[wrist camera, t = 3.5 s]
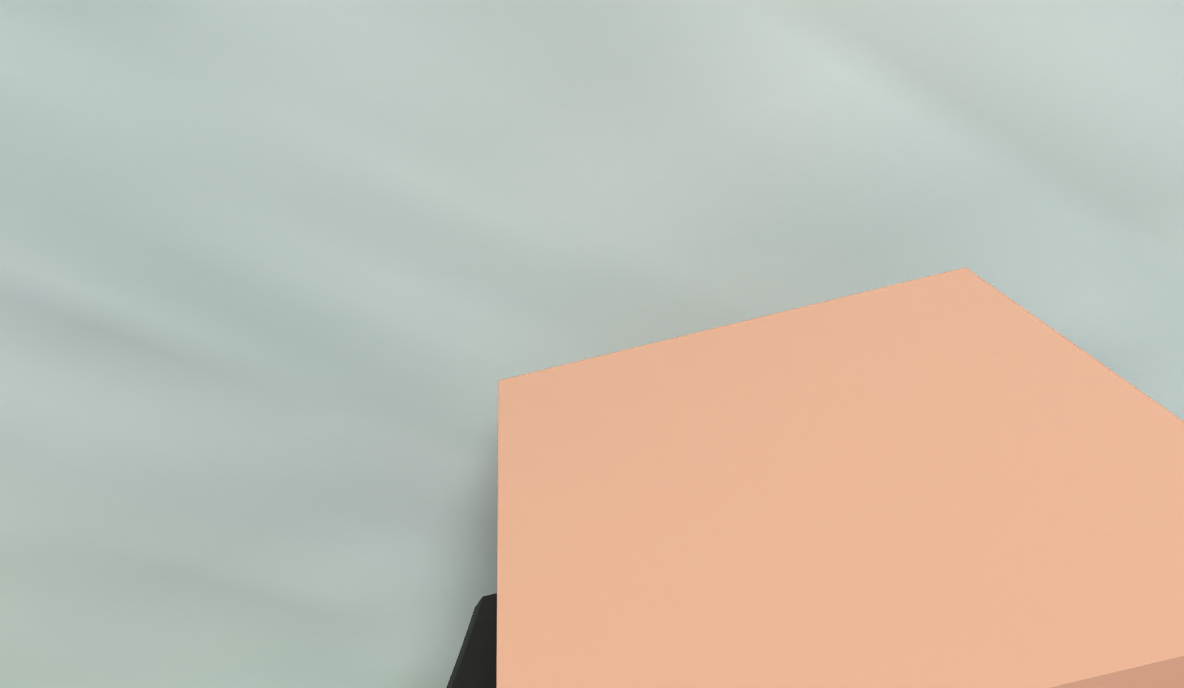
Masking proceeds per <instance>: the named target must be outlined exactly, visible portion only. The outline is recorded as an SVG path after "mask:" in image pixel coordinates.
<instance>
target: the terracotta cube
mask: <svg viewBox="0 0 1184 688" xmlns="http://www.w3.org/2000/svg"><path fill="white" fill-rule="evenodd" d="M497 688H1184V421H1182V420H1181V419H1179V418H1178V417H1177V416H1175V415H1174V414H1172V413H1171V412H1169V411H1168V410H1167V409H1165V408H1164V407H1162V406H1161V405H1160V404H1158V403H1157V402H1155V401H1154V400H1153V399H1151V398H1150V397H1148V396H1147V395H1145V394H1144V393H1143V392H1141V391H1140V390H1138V389H1137V388H1136V387H1134V386H1133V385H1131V384H1130V383H1129V382H1127V381H1126V380H1124V379H1123V378H1121V377H1120V376H1119V375H1117V374H1116V373H1114V372H1113V371H1112V370H1110V369H1109V368H1107V367H1106V366H1104V365H1103V364H1102V363H1100V362H1099V361H1097V360H1096V359H1095V358H1093V357H1092V356H1090V355H1089V354H1088V353H1086V352H1085V351H1083V350H1082V349H1080V348H1079V347H1078V346H1076V345H1075V344H1073V343H1072V342H1071V341H1069V340H1068V339H1066V338H1065V337H1064V336H1062V335H1061V334H1059V333H1058V332H1056V331H1055V330H1054V329H1052V328H1051V327H1049V326H1048V325H1047V324H1045V323H1044V322H1042V321H1041V320H1039V319H1038V318H1037V317H1035V316H1034V315H1032V314H1031V313H1030V312H1028V311H1027V310H1025V309H1024V308H1023V307H1021V306H1020V305H1018V304H1017V303H1015V302H1014V301H1013V300H1011V299H1010V298H1008V297H1007V296H1006V295H1004V294H1003V293H1001V292H1000V291H999V290H997V289H996V288H994V287H993V286H991V285H990V284H989V283H987V282H986V281H984V280H983V279H982V278H980V277H979V276H977V275H976V274H974V273H973V272H972V271H970V270H969V269H967V268H966V267H965V268H961V269H957V270H953V271H949V272H945V273H941V274H936V275H932V276H928V277H924V278H920V279H916V280H912V281H908V282H903V283H899V284H895V285H891V286H887V287H883V288H879V289H874V290H870V291H866V292H862V293H858V294H854V295H850V296H846V297H841V298H837V299H833V300H829V301H825V302H821V303H817V304H813V305H808V306H804V307H800V308H796V309H792V310H788V311H784V312H779V313H775V314H771V315H767V316H763V317H759V318H755V319H751V320H746V321H742V322H738V323H734V324H730V325H726V326H722V327H717V328H713V329H709V330H705V331H701V332H697V333H693V334H689V335H684V336H680V337H676V338H672V339H668V340H664V341H660V342H656V343H651V344H647V345H643V346H639V347H635V348H631V349H627V350H622V351H618V352H614V353H610V354H606V355H602V356H598V357H594V358H589V359H585V360H581V361H577V362H573V363H569V364H565V365H560V366H556V367H552V368H548V369H544V370H540V371H536V372H532V373H527V374H523V375H519V376H515V377H511V378H507V379H503V380H499V394H498V542H497Z"/></svg>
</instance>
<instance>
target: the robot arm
mask: <svg viewBox="0 0 1184 688" xmlns="http://www.w3.org/2000/svg"><path fill="white" fill-rule="evenodd" d="M447 688H497V593H496V594H492V595H488V596H484V597H482V599H481V600H480V601H479V603H478V604H477V606H476V607H475V609H474V612H473V615H472V618H471V621H470V624H469V627H468V630H467V633H466V636H465V639H464V642H463V645H462V647H461V650H460V653H459V656H458V659H457V661H456V664H455V667H454V669H453V672H452V675H451V677H450V680H449V683H448V685H447Z"/></svg>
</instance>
